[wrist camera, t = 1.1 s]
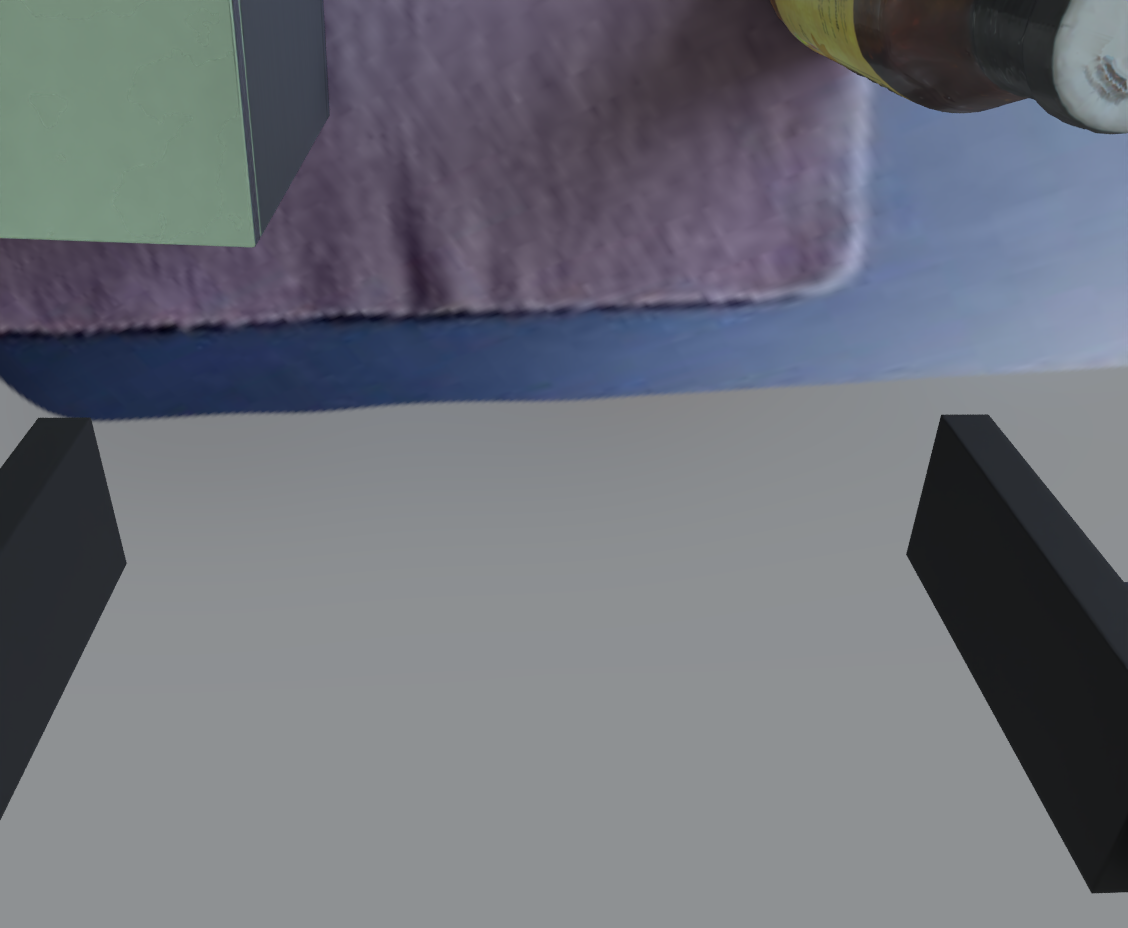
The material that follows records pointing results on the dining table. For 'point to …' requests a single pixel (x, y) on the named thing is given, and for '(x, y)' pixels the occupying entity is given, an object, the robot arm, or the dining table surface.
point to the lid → (125, 123)
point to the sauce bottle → (980, 52)
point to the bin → (283, 90)
